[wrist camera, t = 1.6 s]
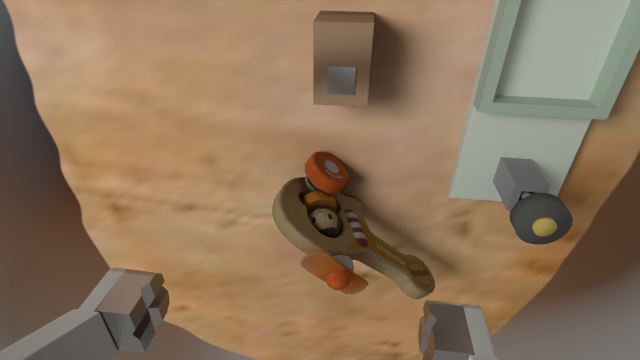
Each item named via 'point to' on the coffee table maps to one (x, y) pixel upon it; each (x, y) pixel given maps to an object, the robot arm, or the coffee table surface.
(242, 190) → the coffee table surface
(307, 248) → the toy helicopter
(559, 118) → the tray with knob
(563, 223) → the wheel knob
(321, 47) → the brown rectangular block
